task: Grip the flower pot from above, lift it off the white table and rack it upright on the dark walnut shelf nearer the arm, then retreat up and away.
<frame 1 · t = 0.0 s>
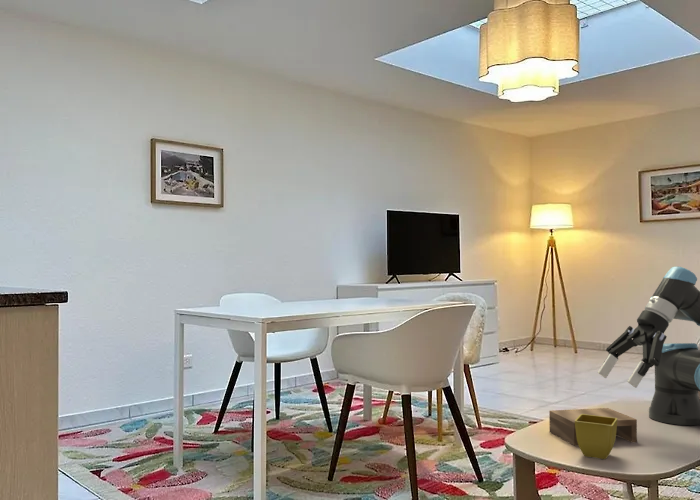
hand: (616, 380, 169), 15 cm above the table, tool tilted 35°, fingers open, 13 cm apart
flower pot: (596, 456, 152), on the table
walnut shelf: (591, 437, 168), on the table
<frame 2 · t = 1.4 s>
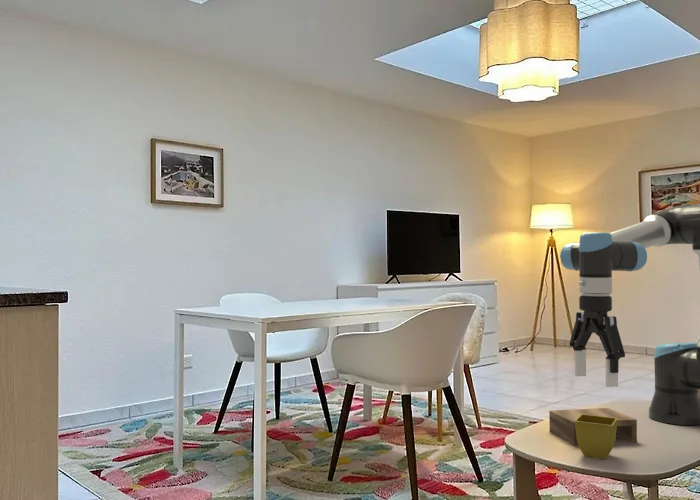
hand: (595, 381, 152), 18 cm above the table, tool pointing down, fingers open, 13 cm apart
nothing on the table moved.
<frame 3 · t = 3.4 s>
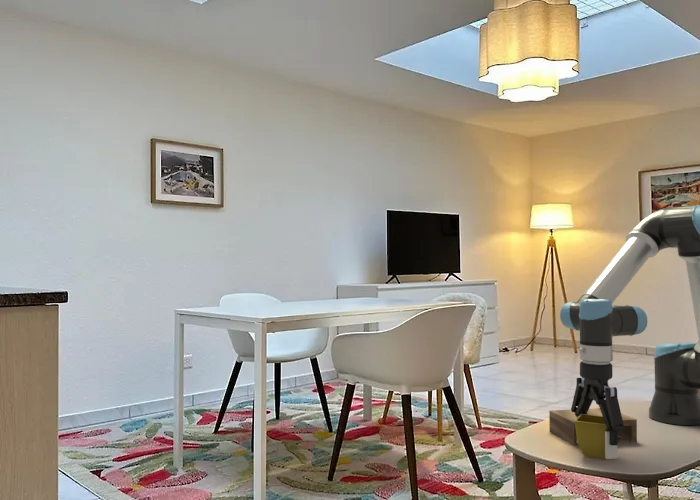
hand: (596, 450, 152), 1 cm above the table, tool pointing down, fingers closed on flower pot, 12 cm apart
flower pot: (596, 456, 152), on the table, touching gripper
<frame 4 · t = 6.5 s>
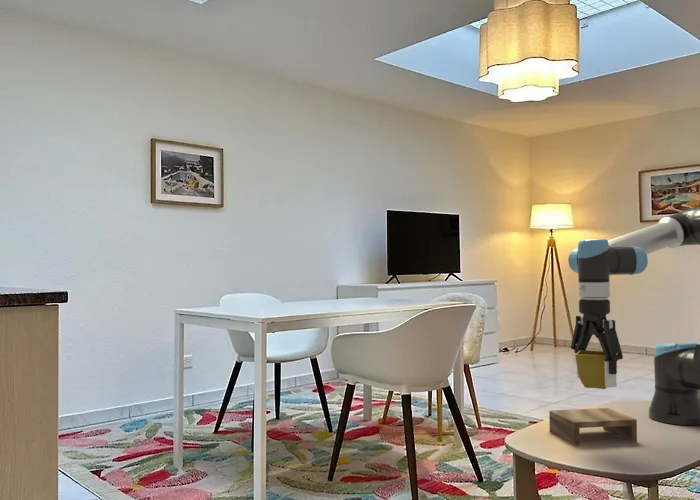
hand: (596, 382, 160), 16 cm above the table, tool pointing down, fingers closed on flower pot, 12 cm apart
flower pot: (596, 388, 160), point 15 cm above the table, touching gripper
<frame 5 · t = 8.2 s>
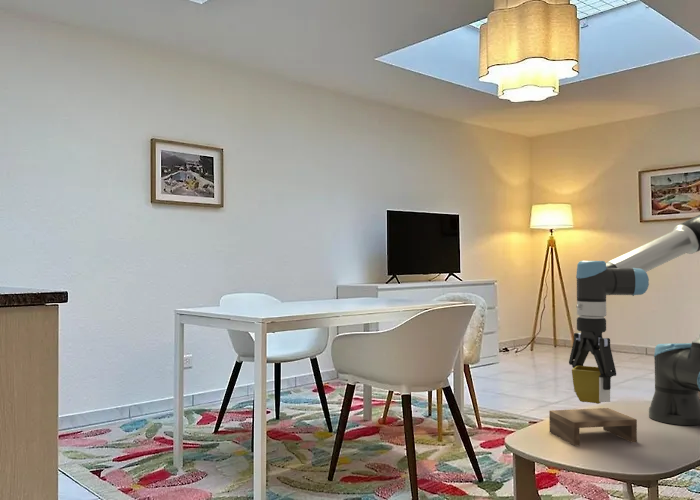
hand: (591, 396, 168), 11 cm above the table, tool pointing down, fingers closed on flower pot, 12 cm apart
flower pot: (591, 402, 168), point 9 cm above the table, touching gripper
when the fingers open (9 cm above the table, at t = 9.7 s): flower pot drops 1 cm, resting on walnut shelf.
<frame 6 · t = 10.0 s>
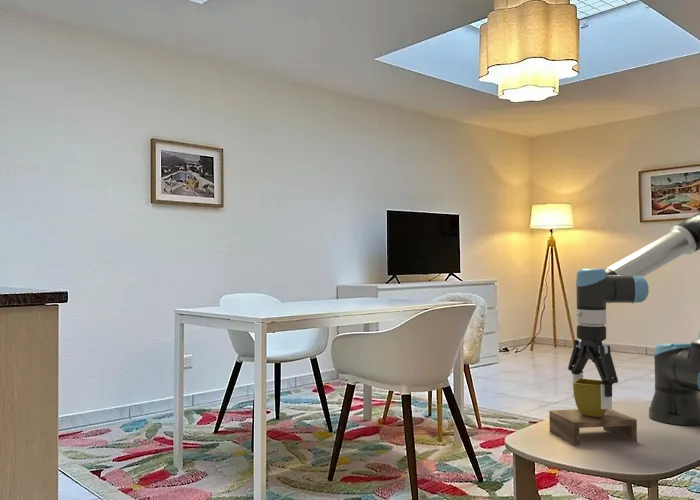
hand: (591, 403, 168), 9 cm above the table, tool pointing down, fingers open, 13 cm apart
flower pot: (592, 415, 168), point 6 cm above the table, touching walnut shelf
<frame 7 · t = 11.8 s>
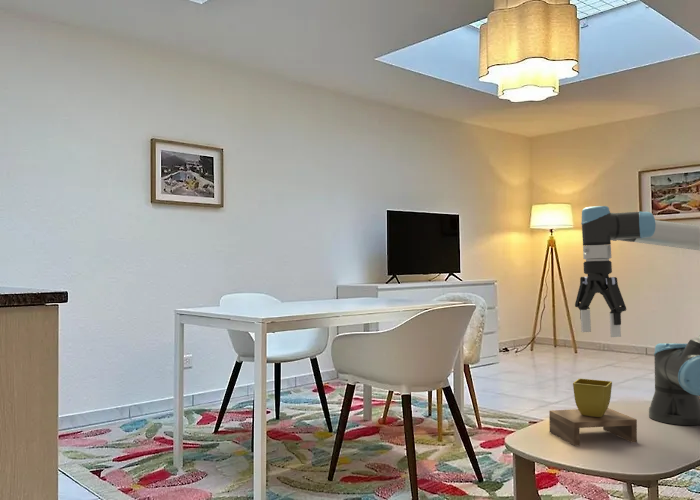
hand: (600, 334, 177), 27 cm above the table, tool pointing down, fingers open, 13 cm apart
nothing on the table moved.
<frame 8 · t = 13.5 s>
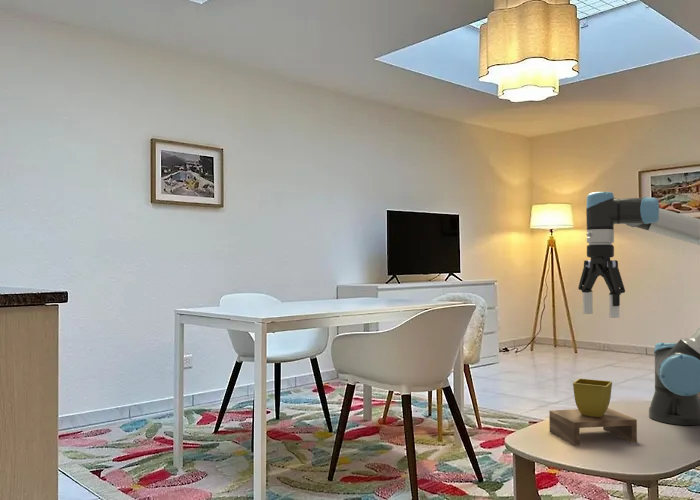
hand: (600, 315, 183), 32 cm above the table, tool pointing down, fingers open, 13 cm apart
nothing on the table moved.
at the end: flower pot inside the target area on the walnut shelf (0.3 cm from its centre), point 5.8 cm above the walnut shelf's base; flower pot tilted 0°; the gripper is holding nothing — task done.
